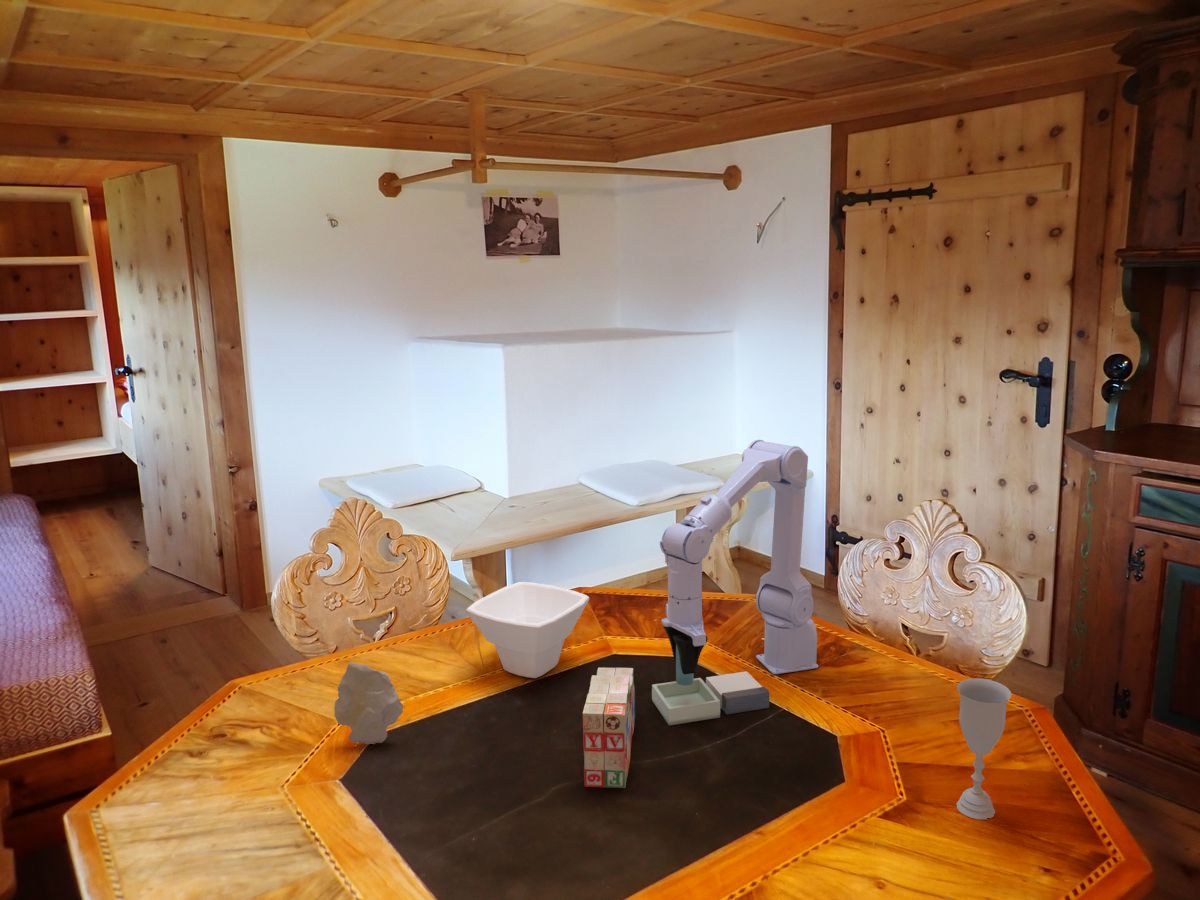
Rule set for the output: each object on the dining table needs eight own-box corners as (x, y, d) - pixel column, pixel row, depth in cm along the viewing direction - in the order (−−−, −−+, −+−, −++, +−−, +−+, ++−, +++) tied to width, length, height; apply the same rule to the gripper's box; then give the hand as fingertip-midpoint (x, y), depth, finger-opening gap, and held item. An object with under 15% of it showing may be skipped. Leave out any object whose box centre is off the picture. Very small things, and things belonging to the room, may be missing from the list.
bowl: (599, 661, 174) (597, 594, 171) (540, 703, 158) (537, 629, 155) (523, 642, 184) (520, 578, 181) (460, 679, 168) (456, 609, 165)
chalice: (997, 830, 120) (1007, 707, 117) (944, 814, 124) (952, 695, 120) (1005, 802, 126) (1015, 685, 123) (955, 788, 130) (962, 674, 126)
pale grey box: (746, 686, 163) (746, 671, 163) (763, 703, 157) (763, 688, 156) (705, 692, 161) (705, 677, 161) (721, 710, 155) (721, 694, 154)
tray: (700, 693, 160) (700, 677, 160) (720, 717, 152) (720, 701, 151) (652, 700, 158) (651, 684, 158) (669, 725, 149) (668, 709, 149)
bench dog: (764, 702, 156) (764, 686, 156) (769, 707, 155) (769, 691, 154) (721, 709, 155) (721, 693, 154) (726, 714, 153) (726, 698, 152)
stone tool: (407, 736, 148) (401, 652, 145) (404, 747, 144) (398, 662, 141) (340, 740, 147) (332, 656, 144) (335, 752, 144) (327, 666, 141)
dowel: (689, 676, 156) (689, 633, 154) (696, 684, 153) (696, 640, 151) (673, 678, 155) (673, 635, 153) (679, 686, 152) (679, 642, 150)
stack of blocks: (599, 716, 153) (597, 650, 151) (635, 717, 153) (634, 650, 150) (584, 788, 132) (581, 712, 130) (626, 789, 132) (624, 713, 129)
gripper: (649, 582, 157) (650, 654, 159) (677, 612, 143) (677, 690, 146) (687, 577, 158) (687, 649, 161) (718, 607, 144) (717, 684, 147)
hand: (685, 668), depth 153 cm, fingers closed on dowel, 3 cm apart
